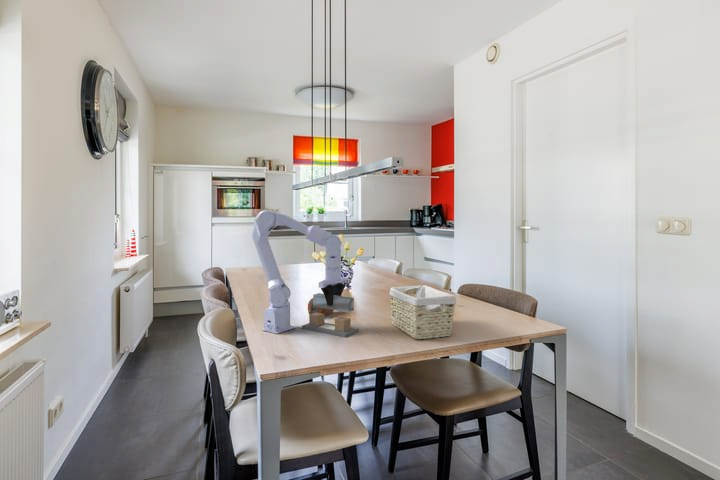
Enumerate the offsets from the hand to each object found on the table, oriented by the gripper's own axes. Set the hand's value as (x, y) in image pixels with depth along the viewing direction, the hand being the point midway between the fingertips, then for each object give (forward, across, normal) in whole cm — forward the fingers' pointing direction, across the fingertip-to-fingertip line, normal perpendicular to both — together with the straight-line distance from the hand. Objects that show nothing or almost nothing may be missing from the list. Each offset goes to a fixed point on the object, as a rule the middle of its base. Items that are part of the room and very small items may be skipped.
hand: (333, 304), depth 146 cm
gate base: (+9, -2, 0) cm, 9 cm away
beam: (+2, 0, 0) cm, 2 cm away
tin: (+9, +13, +16) cm, 23 cm away
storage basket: (+9, +16, -28) cm, 34 cm away
